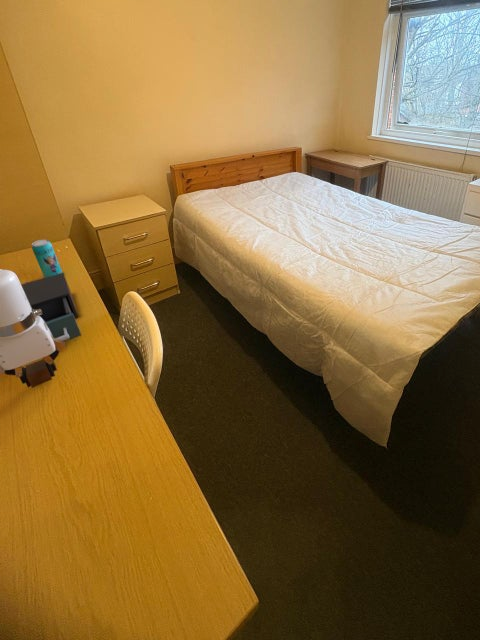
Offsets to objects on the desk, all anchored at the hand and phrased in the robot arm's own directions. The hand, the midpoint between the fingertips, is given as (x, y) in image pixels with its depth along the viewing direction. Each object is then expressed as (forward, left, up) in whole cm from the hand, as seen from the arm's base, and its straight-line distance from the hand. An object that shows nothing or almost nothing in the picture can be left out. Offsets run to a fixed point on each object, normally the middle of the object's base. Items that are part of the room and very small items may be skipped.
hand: (41, 377), depth 80 cm
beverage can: (-42, +37, -2) cm, 56 cm away
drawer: (-11, +13, -1) cm, 17 cm away
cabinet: (-23, +21, -2) cm, 31 cm away
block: (0, 0, 0) cm, 0 cm away
